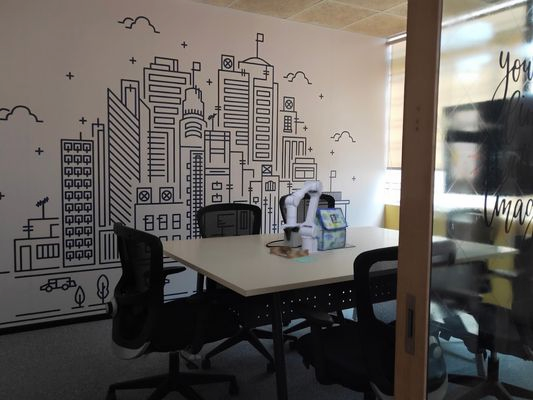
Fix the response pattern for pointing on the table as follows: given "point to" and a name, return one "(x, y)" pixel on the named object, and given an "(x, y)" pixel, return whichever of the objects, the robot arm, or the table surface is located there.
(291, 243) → the gray rectangular block
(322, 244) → the lunch bag
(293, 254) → the walnut rack
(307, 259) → the teal mat
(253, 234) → the table surface
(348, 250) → the table surface
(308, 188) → the robot arm
